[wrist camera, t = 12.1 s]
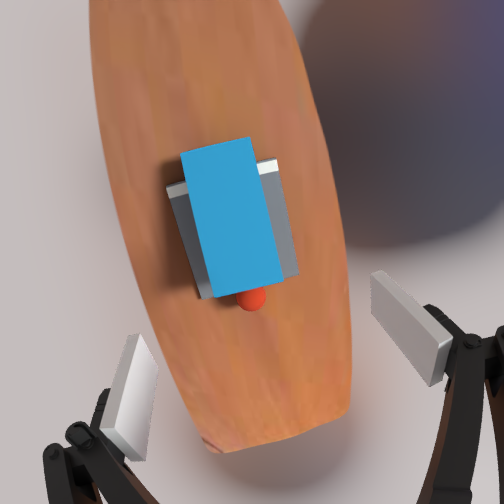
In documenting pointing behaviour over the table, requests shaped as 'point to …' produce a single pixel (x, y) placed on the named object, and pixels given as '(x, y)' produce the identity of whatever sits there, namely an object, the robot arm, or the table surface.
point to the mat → (276, 214)
